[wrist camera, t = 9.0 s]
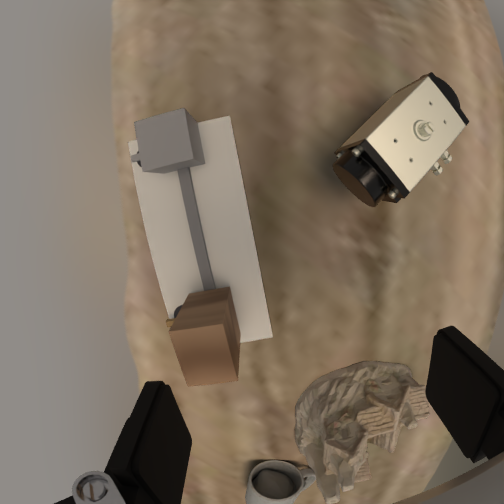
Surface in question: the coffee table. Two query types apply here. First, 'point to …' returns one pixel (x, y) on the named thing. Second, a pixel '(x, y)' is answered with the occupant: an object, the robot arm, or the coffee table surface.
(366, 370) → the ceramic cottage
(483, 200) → the coffee table surface
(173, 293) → the board
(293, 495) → the ceramic mug
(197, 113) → the coffee table surface
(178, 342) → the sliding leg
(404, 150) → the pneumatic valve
